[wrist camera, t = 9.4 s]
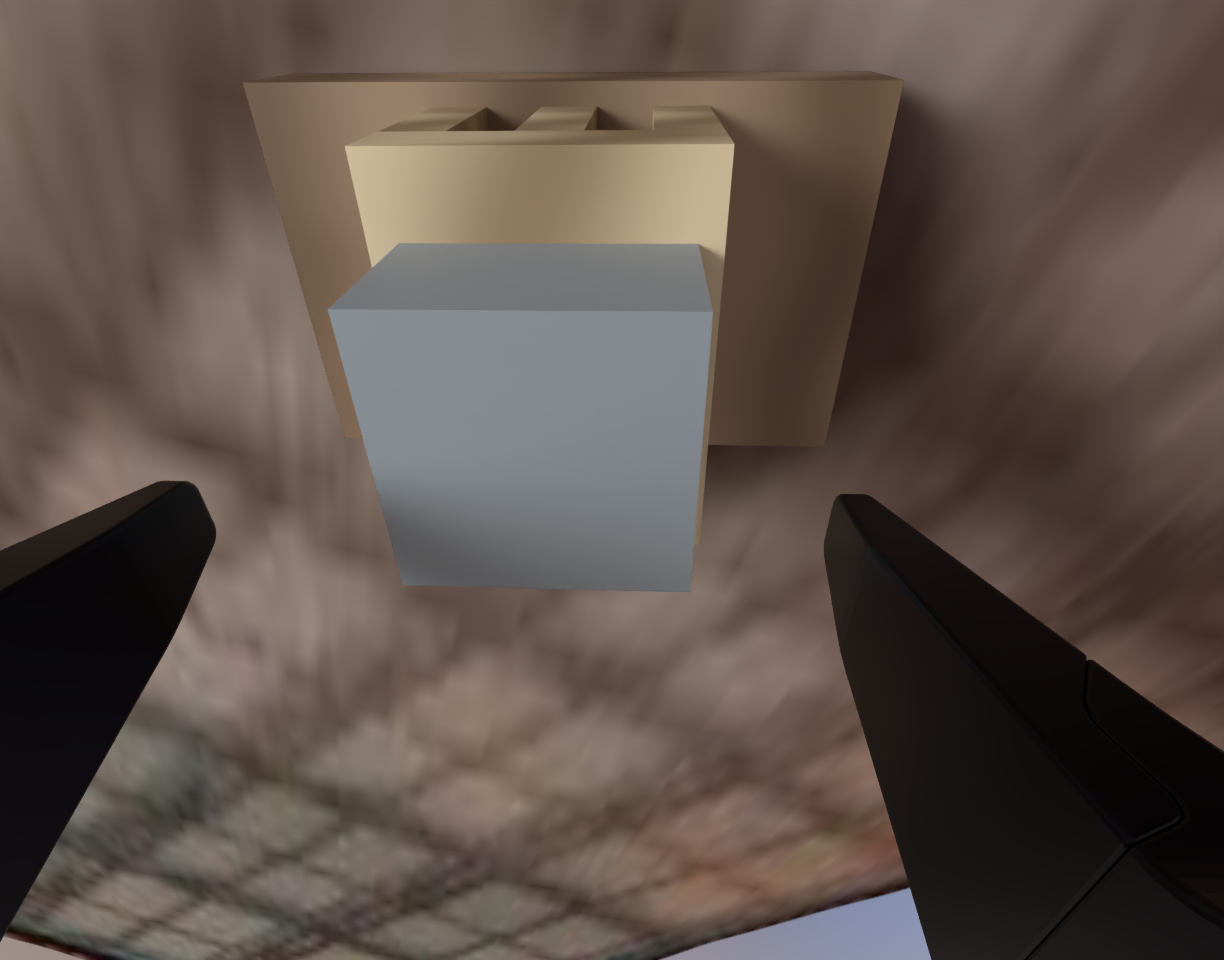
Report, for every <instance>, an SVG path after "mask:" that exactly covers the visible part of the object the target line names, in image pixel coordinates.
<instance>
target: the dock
mask: <svg viewBox="0 0 1224 960" xmlns="http://www.w3.org/2000/svg"><path fill="white" fill-rule="evenodd" d="M903 83H904V80H901V79H897V78H893V77H890V76H886V75H882V74H879V73H875V72H871V71H840V72H592V73H344V74H289V75H284V76H278V77H272V78H266V79H261V80H255V81H249V82H244V83H243V85H244V89H245V92H246V96H247V99H248V102H249V106H250V109H251V113H252V116H253V120H254V123H255V127H256V130H257V134H258V137H259V141H260V144H261V148H262V151H263V155H264V158H265V162H266V165H267V169H268V172H269V176H270V179H271V183H272V186H273V190H274V193H275V197H276V200H277V203H278V207H279V210H280V214H281V217H282V221H283V224H284V228H285V231H286V235H287V238H288V242H289V245H290V249H291V252H292V256H293V259H294V263H295V266H296V270H297V273H298V277H299V280H300V284H301V287H302V291H303V294H304V298H305V301H306V304H307V308H308V311H309V315H310V318H311V322H312V325H313V329H314V332H315V336H316V339H317V343H318V346H319V350H320V353H321V357H322V360H323V364H324V367H325V371H326V374H327V378H328V381H329V385H330V388H331V392H332V395H333V399H334V402H335V405H336V409H337V412H338V416H339V419H340V423H341V426H342V430H343V433H344V437H345V438H363V437H362V433H361V430H360V426H359V422H358V419H357V415H356V411H355V408H354V404H353V400H352V397H351V393H350V389H349V386H348V382H347V378H346V375H345V371H344V367H343V364H342V360H341V356H340V353H339V349H338V345H337V342H336V338H335V335H334V331H333V327H332V324H331V320H330V316H329V313H328V308H330V307H331V306H332V305H333V304H334V303H335V302H336V301H337V300H338V299H339V298H340V297H341V296H342V295H344V294H345V293H346V292H347V291H348V290H349V289H350V288H351V287H352V286H353V285H354V284H355V283H356V282H358V281H359V280H360V279H361V278H362V277H363V276H364V275H365V274H366V273H367V272H368V271H369V270H370V269H372V266H371V261H370V257H369V252H368V248H367V243H366V239H365V234H364V230H363V225H362V221H361V217H360V212H359V208H358V203H357V199H356V194H355V190H354V185H353V181H352V176H351V172H350V168H349V163H348V159H347V154H346V150H345V146H346V145H348V144H350V143H353V142H355V141H357V140H360V139H362V138H364V137H366V136H369V135H371V134H373V133H375V132H378V131H380V130H382V129H384V128H387V127H389V126H391V125H393V124H396V123H398V122H400V121H402V120H405V119H407V118H409V117H412V116H414V115H416V114H418V113H421V112H423V111H425V110H427V109H430V108H450V107H486V109H487V119H488V128H489V131H515V130H516V129H517V128H518V127H519V126H520V125H522V124H523V123H524V122H525V121H526V120H527V119H528V118H529V117H531V116H532V115H533V114H534V113H535V112H536V111H537V110H538V109H540V108H541V107H580V106H597V129H598V130H652V128H653V106H710V107H711V109H712V110H713V112H714V113H715V115H716V116H717V118H718V119H719V121H720V123H721V124H722V126H723V127H724V129H725V130H726V132H727V133H728V135H729V136H730V138H731V139H732V141H733V142H734V144H735V145H734V156H733V168H732V179H731V190H730V202H729V213H728V224H727V236H726V247H725V259H724V270H723V281H722V293H721V304H720V315H719V327H718V338H717V350H716V361H715V372H714V384H713V395H712V406H711V418H710V429H709V441H708V445H739V446H792V447H825V442H826V437H827V433H828V428H829V424H830V419H831V414H832V410H833V405H834V401H835V396H836V391H837V387H838V382H839V378H840V373H841V368H842V364H843V359H844V354H845V350H846V345H847V341H848V336H849V331H850V327H851V322H852V318H853V313H854V308H855V304H856V299H857V295H858V290H859V285H860V281H861V276H862V272H863V267H864V262H865V258H866V253H867V249H868V244H869V239H870V235H871V230H872V225H873V221H874V216H875V212H876V207H877V202H878V198H879V193H880V189H881V184H882V179H883V175H884V170H885V166H886V161H887V156H888V152H889V147H890V143H891V138H892V133H893V129H894V124H895V120H896V115H897V110H898V106H899V101H900V96H901V92H902V87H903Z"/></svg>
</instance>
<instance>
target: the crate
mask: <svg viewBox="0 0 1224 960" xmlns="http://www.w3.org/2000/svg"><path fill="white" fill-rule="evenodd" d="M328 313H329V316H330V320H331V324H332V327H333V331H334V335H335V338H336V342H337V345H338V349H339V353H340V356H341V360H342V364H343V367H344V371H345V375H346V378H347V382H348V386H349V389H350V393H351V397H352V400H353V404H354V408H355V411H356V415H357V419H358V422H359V426H360V430H361V433H362V437H363V441H364V444H365V448H366V452H367V455H368V459H369V463H370V466H371V470H372V473H373V477H374V481H375V484H376V488H377V492H378V495H379V499H380V503H381V506H382V510H383V514H384V517H385V521H386V525H387V528H388V532H389V536H390V539H391V543H392V547H393V550H394V554H395V558H396V561H397V565H398V569H399V572H400V576H401V580H402V583H403V585H416V586H456V587H497V588H537V589H578V590H618V591H659V592H690V587H691V575H692V562H693V550H694V538H695V526H696V514H697V502H698V490H699V477H700V465H701V453H702V441H703V429H704V417H705V405H706V392H707V380H708V368H709V356H710V344H711V332H712V320H713V309H712V304H711V300H710V295H709V290H708V286H707V281H706V276H705V272H704V267H703V263H702V258H701V253H700V249H699V244H566V243H399V244H397V245H396V246H395V247H394V248H393V249H392V250H391V251H390V252H389V253H388V254H387V255H386V256H384V257H383V258H382V259H381V260H380V261H379V262H378V263H377V264H376V265H375V266H374V267H373V268H372V269H370V270H369V271H368V272H367V273H366V274H365V275H364V276H363V277H362V278H361V279H360V280H359V281H358V282H356V283H355V284H354V285H353V286H352V287H351V288H350V289H349V290H348V291H347V292H346V293H345V294H344V295H342V296H341V297H340V298H339V299H338V300H337V301H336V302H335V303H334V304H333V305H332V306H331V307H330V308H328Z"/></svg>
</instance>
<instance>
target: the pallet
mask: <svg viewBox="0 0 1224 960" xmlns="http://www.w3.org/2000/svg"><path fill="white" fill-rule="evenodd" d="M734 145H735V144H734V142H733V141H732V139H731V138H730V136H729V135H728V133H727V132H726V130H725V129H724V127H723V126H722V124H721V123H720V121H719V119H718V118H717V116H716V115H715V113H714V112H713V110H712V109H711V107H710V106H653V128H652V130H598V129H597V106H580V107H541V108H540V109H538V110H537V111H536V112H535V113H534V114H533V115H532V116H531V117H529V118H528V119H527V120H526V121H525V122H524V123H523V124H522V125H520V126H519V127H518V128H517V129H516V130H515V131H489V128H488V119H487V109H486V107H450V108H430V109H427V110H425V111H423V112H421V113H418V114H416V115H414V116H412V117H409V118H407V119H405V120H402V121H400V122H398V123H396V124H393V125H391V126H389V127H387V128H384V129H382V130H380V131H378V132H375V133H373V134H371V135H369V136H366V137H364V138H362V139H360V140H357V141H355V142H353V143H350V144H348V145H346V146H345V150H346V154H347V159H348V163H349V168H350V172H351V176H352V181H353V185H354V190H355V194H356V199H357V203H358V208H359V212H360V217H361V221H362V225H363V230H364V234H365V239H366V243H367V248H368V252H369V257H370V261H371V266H372V268H373V267H374V266H375V265H376V264H377V263H378V262H379V261H380V260H381V259H382V258H383V257H384V256H386V255H387V254H388V253H389V252H390V251H391V250H392V249H393V248H394V247H395V246H396V245H397V244H399V243H566V244H699V249H700V253H701V258H702V263H703V267H704V272H705V276H706V281H707V286H708V290H709V295H710V300H711V304H712V309H713V320H712V332H711V344H710V356H709V368H708V380H707V392H706V405H705V417H704V429H703V441H702V453H701V465H700V477H699V490H698V502H697V514H696V526H695V538H694V544H699V543H700V532H701V520H702V509H703V497H704V486H705V475H706V463H707V452H708V441H709V429H710V418H711V406H712V395H713V384H714V372H715V361H716V350H717V338H718V327H719V315H720V304H721V293H722V281H723V270H724V259H725V247H726V236H727V224H728V213H729V202H730V190H731V179H732V168H733V156H734Z"/></svg>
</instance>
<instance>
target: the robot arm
mask: <svg viewBox="0 0 1224 960" xmlns="http://www.w3.org/2000/svg"><path fill="white" fill-rule="evenodd" d="M215 539H216V528H215V524H214V522H213V520H212V518H211V516H210V513H209V511H208V509H207V507H206V505H205V503H204V500H203V498H202V496H201V494H200V492H199V490H198V488H197V487H196V486H195V485H194V484H193V483H190V482H188V481H159V482H156V483H154V484H151V485H149V486H147V487H144V488H142V489H140V490H138V491H135V492H133V493H131V494H128V495H126V496H124V497H122V498H119V499H117V500H115V501H113V502H110V503H108V504H106V505H103V506H101V507H99V508H97V509H94V510H92V511H90V512H87V513H85V514H83V515H81V516H78V517H76V518H74V519H72V520H69V521H67V522H65V523H62V524H60V525H58V526H56V527H53V528H51V529H49V530H46V531H44V532H42V533H40V534H37V535H35V536H33V537H30V538H28V539H26V540H24V541H21V542H19V543H17V544H15V545H12V546H10V547H8V548H5V549H3V550H1V551H0V942H1V940H2V938H3V936H4V934H5V933H6V931H7V929H8V927H9V926H10V924H11V922H12V920H13V919H14V917H15V915H16V913H17V912H18V910H19V908H20V906H21V905H22V903H23V901H24V899H25V898H26V896H27V894H28V892H29V890H30V889H31V887H32V885H33V883H34V882H35V880H36V878H37V876H38V875H39V873H40V871H41V869H42V868H43V866H44V864H45V862H46V861H47V859H48V857H49V855H50V853H51V852H52V850H53V848H54V846H55V845H56V843H57V841H58V839H59V838H60V836H61V834H62V832H63V831H64V829H65V827H66V825H67V824H68V822H69V820H70V818H71V817H72V815H73V813H74V811H75V809H76V808H77V806H78V804H79V802H80V801H81V799H82V797H83V795H84V794H85V792H86V790H87V788H88V787H89V785H90V783H91V781H92V780H93V778H94V776H95V774H96V773H97V771H98V769H99V767H100V765H101V764H102V762H103V760H104V758H105V757H106V755H107V753H108V751H109V750H110V748H111V746H112V744H113V743H114V741H115V739H116V737H117V736H118V734H119V732H120V730H121V728H122V727H123V725H124V723H125V721H126V720H127V718H128V716H129V714H130V713H131V711H132V709H133V707H134V706H135V704H136V702H137V700H138V699H139V697H140V695H141V693H142V692H143V690H144V688H145V686H146V684H147V683H148V681H149V679H150V677H151V676H152V674H153V672H154V670H155V669H156V667H157V665H158V663H159V662H160V660H161V658H162V656H163V655H164V653H165V651H166V649H167V647H168V646H169V644H170V642H171V640H172V638H173V636H174V634H175V632H176V630H177V628H178V626H179V624H180V622H181V619H182V617H183V615H184V613H185V610H186V608H187V606H188V603H189V601H190V599H191V597H192V594H193V592H194V590H195V587H196V585H197V583H198V580H199V578H200V576H201V574H202V571H203V569H204V567H205V564H206V562H207V560H208V557H209V555H210V553H211V551H212V548H213V546H214V543H215ZM824 558H825V564H826V570H827V576H828V582H829V588H830V594H831V600H832V606H833V612H834V618H835V624H836V630H837V636H838V641H839V647H840V652H841V656H842V660H843V663H844V667H845V671H846V674H847V677H848V681H849V684H850V687H851V691H852V694H853V698H854V701H855V704H856V708H857V711H858V714H859V718H860V721H861V724H862V728H863V731H864V734H865V738H866V741H867V745H868V748H869V751H870V755H871V758H872V761H873V765H874V768H875V771H876V775H877V778H878V781H879V785H880V788H881V792H882V795H883V798H884V802H885V805H886V808H887V812H888V815H889V818H890V822H891V825H892V829H893V832H894V835H895V839H896V842H897V845H898V849H899V852H900V855H901V859H902V862H903V865H904V869H905V872H906V876H907V879H908V882H909V886H910V889H911V892H912V896H913V899H914V902H915V906H916V909H917V913H918V916H919V919H920V923H921V926H922V929H923V933H924V936H925V939H926V943H927V946H928V949H929V953H930V956H931V959H932V960H1224V751H1222V750H1221V749H1219V748H1218V747H1216V746H1215V745H1213V744H1212V743H1210V742H1209V741H1207V740H1206V739H1204V738H1203V737H1201V736H1200V735H1198V734H1197V733H1195V732H1194V731H1192V730H1191V729H1189V728H1188V727H1186V726H1185V725H1183V724H1182V723H1180V722H1179V721H1177V720H1176V719H1174V718H1173V717H1171V716H1170V715H1168V714H1167V713H1166V712H1164V711H1163V710H1161V709H1160V708H1159V707H1157V706H1156V705H1154V704H1153V703H1152V702H1150V701H1149V700H1147V699H1146V698H1144V697H1143V696H1142V695H1140V694H1139V693H1137V692H1136V691H1135V690H1133V689H1132V688H1130V687H1129V686H1128V685H1126V684H1125V683H1123V682H1122V681H1121V680H1119V679H1118V678H1117V677H1115V676H1114V675H1113V674H1111V673H1110V672H1108V671H1107V670H1106V669H1104V668H1103V667H1102V666H1100V665H1099V664H1098V663H1096V662H1095V661H1093V660H1087V657H1086V655H1085V654H1084V653H1082V652H1081V651H1080V650H1078V649H1077V648H1076V647H1074V646H1073V645H1072V644H1070V643H1069V642H1067V641H1066V640H1065V639H1063V638H1062V637H1061V636H1059V635H1058V634H1057V633H1055V632H1054V631H1053V630H1051V629H1050V628H1049V627H1047V626H1046V625H1044V624H1043V623H1042V622H1040V621H1039V620H1038V619H1036V618H1035V617H1034V616H1032V615H1031V614H1030V613H1028V612H1027V611H1025V610H1024V609H1023V608H1021V607H1020V606H1019V605H1017V604H1016V603H1015V602H1013V601H1012V600H1011V599H1009V598H1008V597H1006V596H1005V595H1004V594H1002V593H1001V592H1000V591H998V590H997V589H996V588H994V587H993V586H992V585H990V584H989V583H988V582H986V581H985V580H983V579H982V578H981V577H979V576H978V575H977V574H975V573H974V572H973V571H971V570H970V569H969V568H967V567H966V566H964V565H963V564H962V563H960V562H959V561H958V560H956V559H955V558H954V557H952V556H951V555H950V554H948V553H947V552H946V551H944V550H943V549H941V548H940V547H939V546H937V545H936V544H935V543H933V542H932V541H931V540H929V539H928V538H927V537H925V536H924V535H922V534H921V533H920V532H918V531H917V530H916V529H914V528H913V527H912V526H910V525H909V524H908V523H906V522H905V521H904V520H902V519H901V518H899V517H898V516H897V515H895V514H894V513H893V512H891V511H890V510H889V509H887V508H886V507H885V506H883V505H882V504H880V503H879V502H878V501H876V500H875V499H874V498H872V497H871V496H869V495H865V494H840V495H839V496H837V497H836V499H835V501H834V503H833V507H832V511H831V515H830V519H829V524H828V528H827V532H826V536H825V541H824Z"/></svg>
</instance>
